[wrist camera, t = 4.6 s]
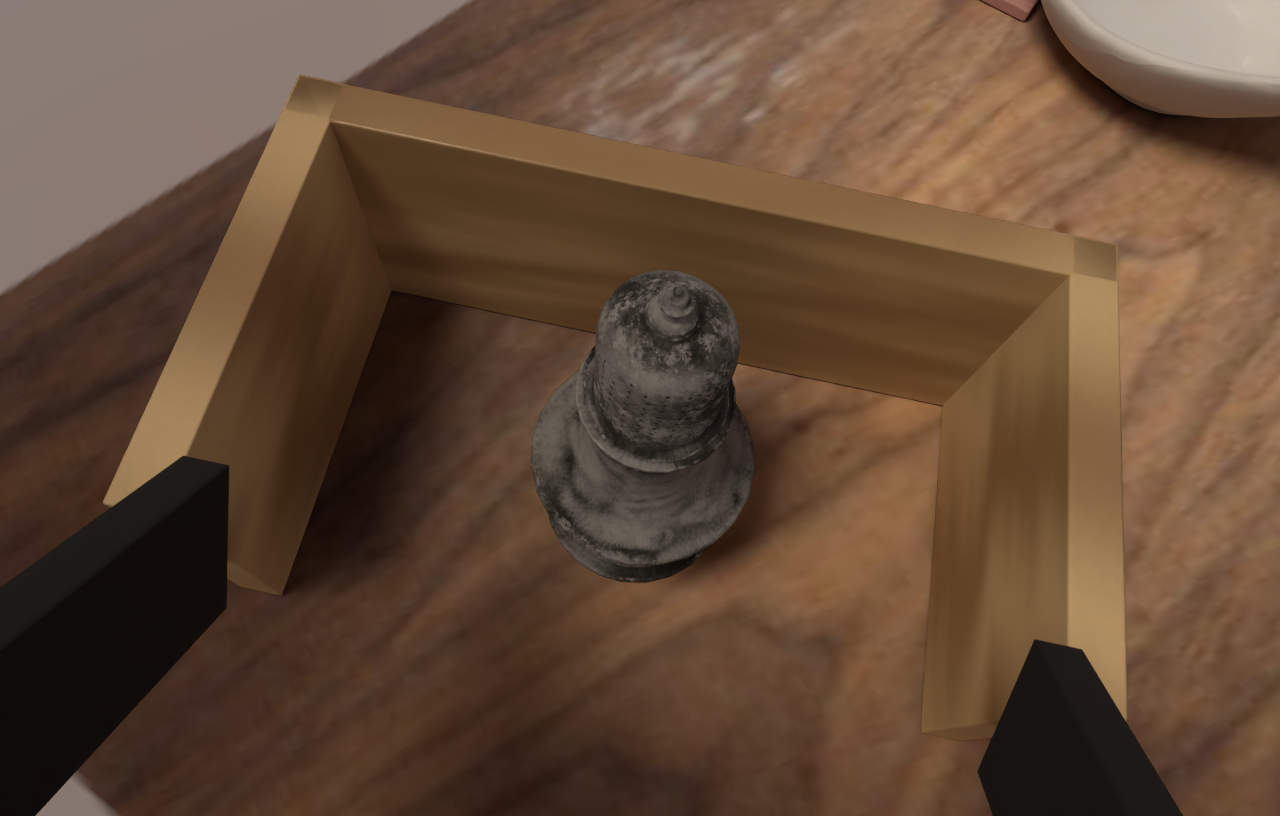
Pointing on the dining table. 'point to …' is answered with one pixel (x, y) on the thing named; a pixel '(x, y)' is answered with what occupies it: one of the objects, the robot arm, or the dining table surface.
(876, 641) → the dining table surface
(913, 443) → the dining table surface
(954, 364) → the cubby
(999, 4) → the mat
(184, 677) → the dining table surface
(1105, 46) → the spoon rest
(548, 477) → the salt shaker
